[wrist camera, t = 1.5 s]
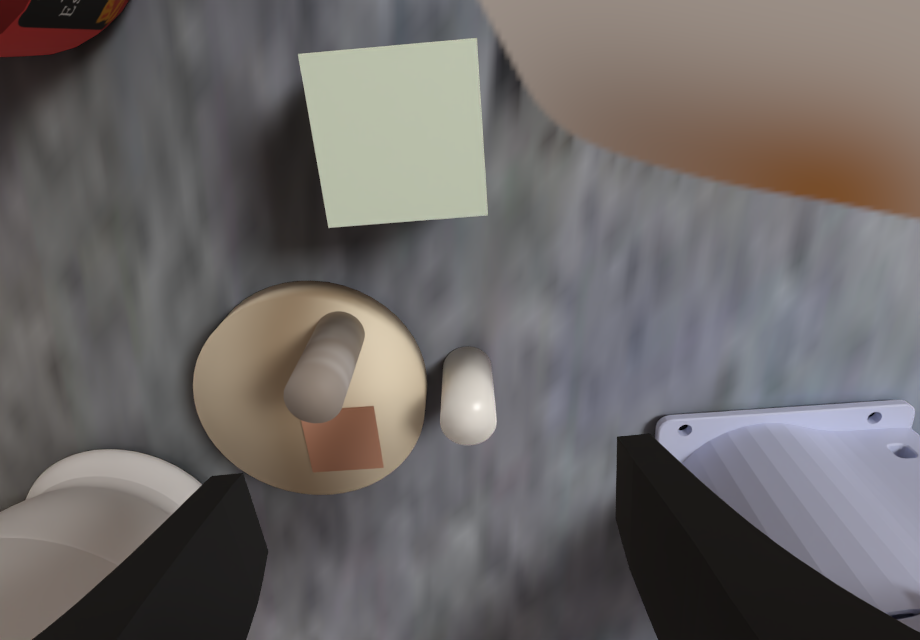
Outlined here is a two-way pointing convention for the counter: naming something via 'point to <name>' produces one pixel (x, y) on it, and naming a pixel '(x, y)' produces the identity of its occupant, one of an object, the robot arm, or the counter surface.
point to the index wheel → (312, 388)
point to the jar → (79, 531)
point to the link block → (397, 132)
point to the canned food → (52, 24)
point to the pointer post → (467, 397)
